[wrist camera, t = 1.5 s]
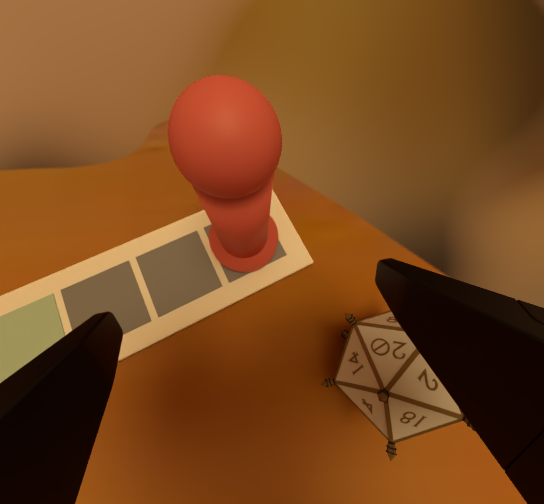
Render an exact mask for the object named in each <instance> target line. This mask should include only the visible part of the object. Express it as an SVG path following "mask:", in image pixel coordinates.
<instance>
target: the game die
mask: <svg viewBox="0 0 544 504" xmlns="http://www.w3.org/2000/svg"><path fill="white" fill-rule="evenodd" d="M345 315H346V318H345V319H346V320H347V321H348V322H349V323H351V324H352V326H351V329H350V332H349V333H348V332H347V331H341V332H342V336H343V337H345V338H347V341H346V344H345V346H344V349H343V352H342V355H341V358H340V361H339V364H338V367H337V370H336V373H335V376H334V379H330V378H329V379H325V381H324V382H323V383H322V384H321V385H324V386H327V387H329V386H332V385H334V384H335V385H336V386H337V387H338V388H339V389H340V390H341V391H342V392H343V393H344V394H345V395H346V396H347V397H348V398H349V399H350V400H351V402H352V403H353V404H354V405H355V406H356V407H357V408H358V409H359V410H360V411H361V412H362V413H363V414H364V415H365V416H366V417H367V418H368V420H369V421H370V422H371V423H372V424H373V425H374V426H375V427H376V428H377V429H378V430H379V431H380V432H381V433H382V434H383V435H384V436H385V437H386V439H387V440H388V445H386V447H387V450H386V452H387V453H388V456H389V458H390V461H391V460H392V459H393V458H394V456H395V455H397V454H396V450H397V449H396V448H395V443H397V442H400V441H403V440H406V439H409V438H412V437H415V436H418V435H421V434H424V433H427V432H430V431H433V430H436V429H439V428H442V427H445V426H448V425H451V424H454V423H457V422H460V421H464V422H465V423H466V424H467V426H469V427H471V428H472V430H474V431H475V429H474V428H473V427H472V425H471V424H470V422H469V421H468V420H467V418H466V417H465V416H464V414H463V413H462V411H461V410H460V409H459V407H458V406H457V404H456V403H455V402H454V400H453V399H452V397H451V396H450V395H449V393H448V392H447V390H446V389H445V388H444V386H443V385H442V383H441V382H440V381H439V379H438V378H437V376H436V375H435V374H434V372H433V371H432V369H431V368H430V367H429V365H428V364H427V362H426V361H425V360H424V358H423V357H422V355H421V354H420V353H419V351H418V350H417V349H416V347H415V346H414V344H413V343H412V342H411V340H410V339H409V337H408V336H407V335H406V333H405V332H404V330H403V329H402V328H401V326H400V325H399V323H398V322H397V320H396V319H395V317H394V315H393V313H392V312H391V310H390V311H387V312H384V313H381V314H378V315H374V316H371V317H368V318H365V319H362V320H359V321H355V317H353V314H347V313H345Z"/></svg>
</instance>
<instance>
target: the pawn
mask: <svg viewBox="0 0 544 504" xmlns="http://www.w3.org/2000/svg"><path fill="white" fill-rule="evenodd" d="M168 141H169V146H170V150H171V154H172V156H173V159H174V161H175V163H176V165H177V167H178V169H179V170H180V172H181V173H182V174H183V176H184V177H185V178H186V179H187V180H188V181H189V182H190V183H191V184H192V186H193V188H194V190H195V192H196V194H197V196H198V198H199V200H200V202H201V204H202V206H203V208H204V210H205V212H206V214H207V216H208V218H209V220H210V222H211V224H212V225H211V227H210V231H209V244H210V247H211V250H212V252H213V254H214V255H215V257H216V258H217V260H218V261H219V262H220V263H221V264H222V265H223V266H224V267H226V268H227V269H229V270H232V271H234V272H239V273H250V272H254V271H257V270H259V269H261V268H263V267H264V266H265V265H267V264H268V263H269V262H270V260H271V259H272V258H273V256H274V254H275V251H276V248H277V244H278V229H277V226H276V224H275V222H274V220H273V218H272V217H271V216H270V206H271V196H272V186H273V177H274V172H275V169H276V167H277V165H278V163H279V159H280V155H281V149H282V135H281V128H280V124H279V121H278V118H277V115H276V113H275V111H274V109H273V107H272V106H271V104H270V102H269V101H268V100H267V99H266V97H265V96H264V95H263V94H262V93H261V92H260V91H259V90H258V89H257V88H255V87H254V86H252V85H251V84H249V83H248V82H246V81H244V80H242V79H239V78H236V77H232V76H227V75H214V76H208V77H205V78H202V79H200V80H198V81H196V82H194V83H193V84H191V85H190V86H188V87H187V88H186V89H185V90H184V91H183V92H182V93H181V95H180V96H179V97H178V99H177V100H176V102H175V104H174V106H173V109H172V111H171V114H170V118H169V123H168Z"/></svg>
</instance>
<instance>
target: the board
mask: <svg viewBox="0 0 544 504" xmlns="http://www.w3.org/2000/svg"><path fill="white" fill-rule="evenodd" d="M270 216H271V217H272V218H273V220H274V222H275V224H276V226H277V229H278V244H277V248H276V251H275V254H274V256H273V258H272V259H271V260H270V262H269V263H268V264H267V265H265V266H264V267H263V268H261V269H259V270H257V271H254V272H250V273H239V272H234V271H232V270H229V269H227V268H226V267H224V266H223V265H222V264H221V263H220V262H219V261H218V260H217V258H216V257H215V255H214V254H213V252H212V250H211V247H210V244H209V231H210V227H211V225H212V224H211V222H210V220H209V218H208V216H207V214H206V212H205V210H203V211H200V212H198V213H195V214H193V215H191V216H188V217H186V218H184V219H181V220H179V221H177V222H174V223H172V224H170V225H167V226H165V227H162V228H160V229H158V230H155V231H153V232H151V233H148V234H146V235H144V236H141V237H139V238H136V239H134V240H132V241H129V242H127V243H125V244H122V245H120V246H118V247H115V248H113V249H110V250H108V251H106V252H103V253H101V254H99V255H96V256H94V257H92V258H89V259H87V260H84V261H82V262H80V263H77V264H75V265H73V266H70V267H68V268H66V269H63V270H61V271H59V272H56V273H54V274H51V275H49V276H47V277H44V278H42V279H40V280H37V281H35V282H33V283H30V284H28V285H25V286H23V287H21V288H18V289H16V290H14V291H11V292H9V293H7V294H4V295H2V296H0V383H1V382H2V381H4V380H5V379H6V378H8V377H9V376H11V375H12V374H13V373H15V372H16V371H17V370H19V369H20V368H21V367H23V366H24V365H26V364H27V363H28V362H30V361H31V360H32V359H34V358H35V357H37V356H38V355H39V354H41V353H42V352H43V351H45V350H46V349H48V348H49V347H50V346H52V345H53V344H54V343H56V342H57V341H59V340H60V339H61V338H63V337H64V336H65V335H67V334H68V333H69V332H71V331H72V330H74V329H75V328H76V327H78V326H79V325H80V324H82V323H83V322H85V321H86V320H87V319H89V318H90V317H91V316H93V315H94V314H96V313H101V312H107V311H110V312H112V313H113V314H114V316H115V318H116V319H117V321H118V323H119V324H120V326H121V328H122V330H123V339H122V344H121V349H120V353H119V358H118V362H119V361H121V360H123V359H125V358H127V357H129V356H131V355H133V354H135V353H137V352H139V351H141V350H143V349H145V348H147V347H149V346H151V345H153V344H155V343H157V342H159V341H161V340H163V339H165V338H167V337H169V336H171V335H173V334H175V333H177V332H179V331H181V330H183V329H185V328H187V327H189V326H191V325H193V324H195V323H197V322H199V321H201V320H203V319H205V318H206V317H208V316H210V315H212V314H214V313H216V312H218V311H220V310H222V309H224V308H226V307H228V306H230V305H232V304H234V303H236V302H238V301H240V300H242V299H244V298H246V297H248V296H250V295H252V294H254V293H256V292H258V291H260V290H262V289H264V288H266V287H268V286H270V285H272V284H274V283H276V282H278V281H280V280H282V279H284V278H286V277H288V276H290V275H292V274H294V273H296V272H298V271H300V270H301V269H303V268H305V267H307V266H309V265H311V264H313V260H312V258H311V257H310V255H309V253H308V251H307V249H306V248H305V246H304V244H303V242H302V241H301V239H300V237H299V235H298V234H297V232H296V230H295V228H294V226H293V225H292V223H291V221H290V219H289V218H288V216H287V214H286V212H285V211H284V209H283V207H282V205H281V203H280V202H279V200H278V198H277V196H276V195H275V193H274V191H273V189H272V196H271V206H270Z"/></svg>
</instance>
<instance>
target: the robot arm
mask: <svg viewBox="0 0 544 504" xmlns="http://www.w3.org/2000/svg"><path fill="white" fill-rule="evenodd" d="M375 282H376V285H377V287H378V289H379V291H380V292H381V294H382V296H383V298H384V299H385V301H386V303H387V305H388V306H389V308H390V310H391V312H392V313H393V315H394V317H395V319H396V320H397V322H398V323H399V325H400V326H401V328H402V329H403V330H404V332H405V333H406V335H407V336H408V337H409V339H410V340H411V342H412V343H413V344H414V346H415V347H416V349H417V350H418V351H419V353H420V354H421V355H422V357H423V358H424V360H425V361H426V362H427V364H428V365H429V367H430V368H431V369H432V371H433V372H434V374H435V375H436V376H437V378H438V379H439V381H440V382H441V383H442V385H443V386H444V388H445V389H446V390H447V392H448V393H449V395H450V396H451V397H452V399H453V400H454V402H455V403H456V404H457V406H458V407H459V409H460V410H461V411H462V413H463V414H464V416H465V417H466V418H467V420H468V421H469V422H470V424H471V425H472V427H473V428H474V429H475V431H476V432H477V434H478V435H479V436H480V438H481V439H482V441H483V442H484V443H485V445H486V446H487V448H488V449H489V450H490V452H491V453H492V455H493V456H494V457H495V459H496V460H497V462H498V463H499V464H500V466H501V467H502V469H503V470H505V473H506V475H507V476H508V477H509V479H510V480H511V481H512V483H513V484H514V486H515V487H516V488H517V490H518V491H519V493H520V494H521V495H522V497H523V498H524V500H525V501H526V502H527V504H544V308H542V307H538V306H536V305H533V304H529V303H526V302H523V301H520V300H517V301H516V300H515V299H514V298H511V297H507V296H505V295H502V294H499V293H496V292H492V291H489V290H487V289H483V288H480V287H477V286H474V285H471V284H468V283H465V282H462V281H459V280H456V279H453V278H450V277H447V276H444V275H441V274H438V273H435V272H432V271H428V270H425V269H422V268H419V267H416V266H413V265H410V264H407V263H404V262H401V261H398V260H395V259H392V258H388V259H383V260H380V261H379V262H378V264H377V270H376V277H375ZM122 339H123V330H122V328H121V326H120V324H119V323H118V321H117V319H116V318H115V316H114V314H113V313H112V312H110V311H107V312H101V313H96V314H94V315H93V316H91V317H90V318H89V319H87V320H86V321H85V322H83V323H82V324H80V325H79V326H78V327H76V328H75V329H74V330H72V331H71V332H69V333H68V334H67V335H65V336H64V337H63V338H61V339H60V340H59V341H57V342H56V343H54V344H53V345H52V346H50V347H49V348H48V349H46V350H45V351H43V352H42V353H41V354H39V355H38V356H37V357H35V358H34V359H32V360H31V361H30V362H28V363H27V364H26V365H24V366H23V367H21V368H20V369H19V370H17V371H16V372H15V373H13V374H12V375H11V376H9V377H8V378H6V379H5V380H4V381H2V382H1V383H0V504H75V502H76V499H77V496H78V493H79V489H80V486H81V483H82V480H83V477H84V474H85V471H86V467H87V464H88V461H89V458H90V455H91V452H92V449H93V445H94V442H95V439H96V436H97V433H98V430H99V427H100V423H101V420H102V417H103V414H104V411H105V408H106V405H107V402H108V398H109V395H110V392H111V389H112V385H113V382H114V378H115V373H116V368H117V363H118V358H119V353H120V349H121V344H122Z"/></svg>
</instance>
